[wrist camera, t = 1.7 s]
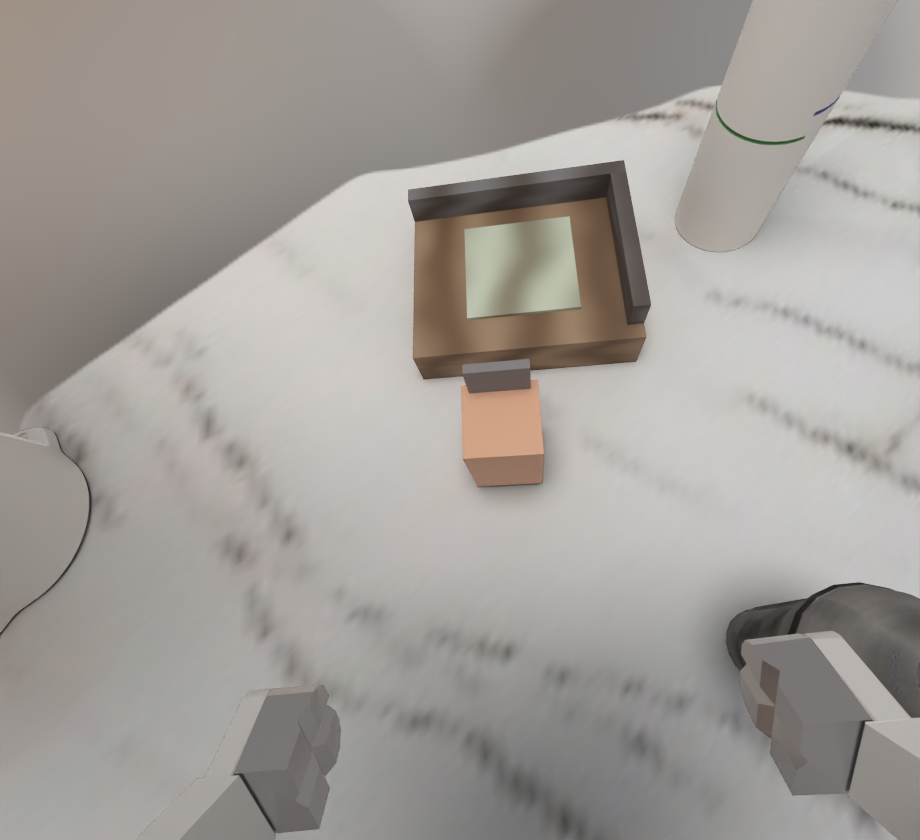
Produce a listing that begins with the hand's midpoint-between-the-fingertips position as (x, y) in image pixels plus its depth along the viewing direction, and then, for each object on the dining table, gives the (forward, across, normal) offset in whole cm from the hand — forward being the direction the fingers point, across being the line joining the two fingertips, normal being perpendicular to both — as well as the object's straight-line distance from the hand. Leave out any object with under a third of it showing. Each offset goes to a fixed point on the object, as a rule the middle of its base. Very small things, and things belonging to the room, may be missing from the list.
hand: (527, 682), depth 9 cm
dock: (+38, -3, 0) cm, 38 cm away
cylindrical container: (+41, -22, -3) cm, 47 cm away
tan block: (+28, 0, +10) cm, 29 cm away
